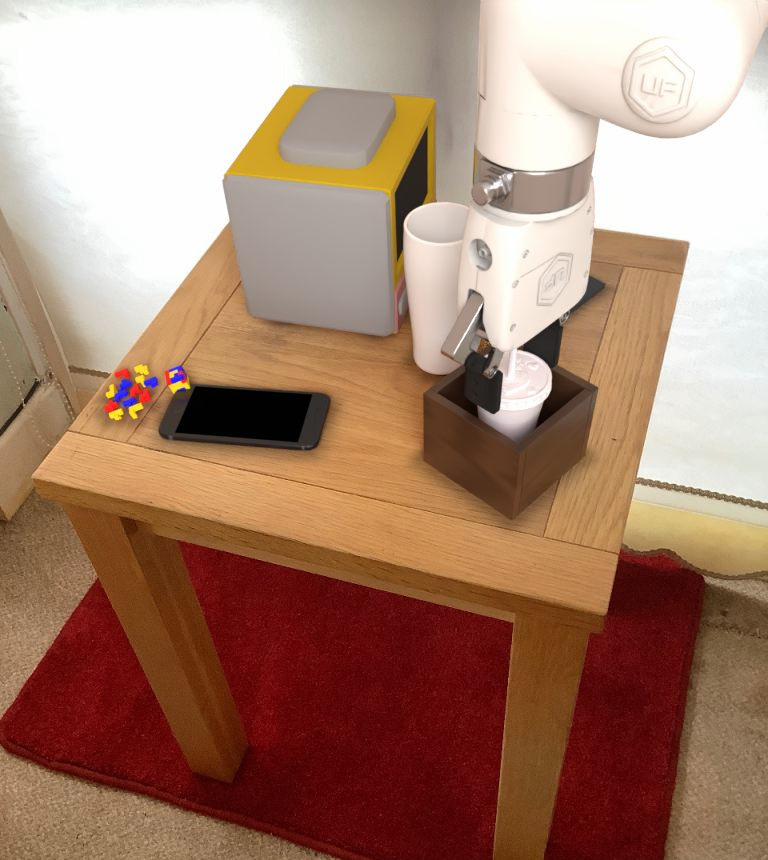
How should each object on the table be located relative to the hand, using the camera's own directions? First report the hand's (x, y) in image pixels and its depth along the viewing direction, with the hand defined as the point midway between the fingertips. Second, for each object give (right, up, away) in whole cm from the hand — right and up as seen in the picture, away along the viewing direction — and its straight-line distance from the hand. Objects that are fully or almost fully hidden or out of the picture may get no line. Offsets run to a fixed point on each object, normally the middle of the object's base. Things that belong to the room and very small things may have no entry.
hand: (511, 380), depth 69 cm
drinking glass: (-5, +4, +16) cm, 17 cm away
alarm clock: (-14, +13, +24) cm, 31 cm away
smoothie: (0, -6, +7) cm, 9 cm away
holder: (0, -6, +7) cm, 9 cm away
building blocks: (-33, +2, +13) cm, 35 cm away
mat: (+6, +13, +22) cm, 26 cm away
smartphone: (-23, -2, +11) cm, 26 cm away
